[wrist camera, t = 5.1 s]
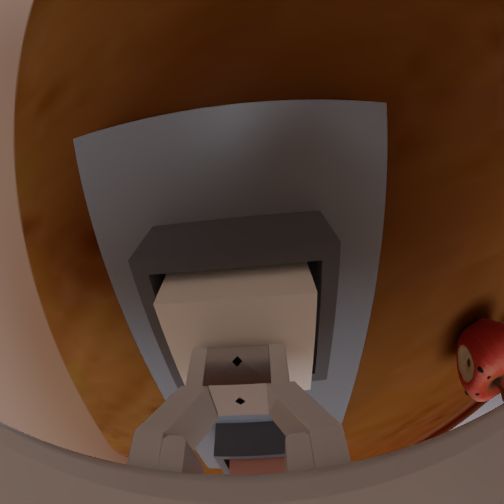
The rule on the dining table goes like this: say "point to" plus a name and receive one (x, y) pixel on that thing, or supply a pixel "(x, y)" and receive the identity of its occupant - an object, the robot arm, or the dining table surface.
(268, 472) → the key brick
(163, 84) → the dining table surface
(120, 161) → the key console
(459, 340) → the apple
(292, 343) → the key ivory
